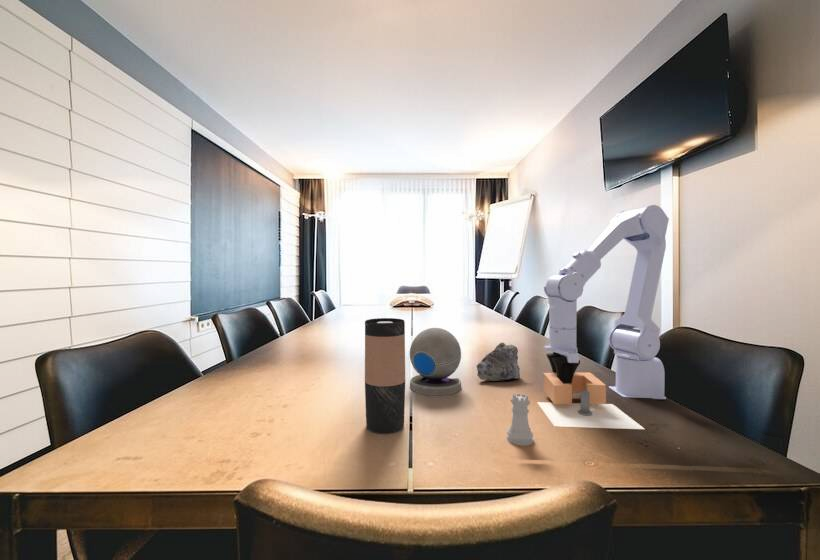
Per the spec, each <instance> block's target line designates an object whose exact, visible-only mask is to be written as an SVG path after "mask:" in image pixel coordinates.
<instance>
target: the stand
mask: <svg viewBox="0 0 820 560" xmlns="http://www.w3.org/2000/svg"><path fill="white" fill-rule="evenodd" d="M589 403H590V392H589V391H587V390H581V393H580V402H578V403H577V402H576V403H575V402H572V404H554V403H553V402H550V401H549V402H544V401H541V402H540V401H537V402H536V404H537V405H538V406H539V407H540V409H541V410H542V411H543V413H544V414H545V415H546V417H547V418H548V419H549V421H550V422H551V424H552V425H553V427H555V428H583V429H585V428H587V429H589V428H590V429H591V428H592V429H614V430H615V429H616V430H617V429H618V430H620V429H622V430H625V429H626V430H645V428H644V427H643V426H642V425H640V423H638V422H637V421H635V420H634V419H633V418H632V417H630V416H629V415H628V414H626V413H625V412H623V411H622V410H621V409H620V408H619V407H617V406H616V405H614V403H606V404H589Z"/></svg>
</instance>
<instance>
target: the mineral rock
mask: <svg viewBox="0 0 820 560" xmlns="http://www.w3.org/2000/svg"><path fill="white" fill-rule="evenodd" d="M518 354H519V350H518V347H517V346H516V345H514V344H506V343H504V342H500V343H499V344H497V345H496V347H495V348H494V350H492V351H491V352H489V353H488V354H486V355H485V356H484V357H483V358H482V359H481V361H480V362H479V363H477V364H476V369H477V377H478V379H480V380H483V381H489V382H491V381H493V382H500V381H501V382H502V381H506V380H512V379H514V380H516V379H519V378H521V374H520V369H521V368H520V366H519V361H518V359H519V356H518Z"/></svg>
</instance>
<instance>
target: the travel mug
mask: <svg viewBox="0 0 820 560" xmlns="http://www.w3.org/2000/svg"><path fill="white" fill-rule="evenodd" d="M405 323H406V322H405V320H404V319H403V318H391V317H390V318H389V317H388V318H387V317H384V318H383V317H382V318H379V317H378V318H369V319H366V320H365V321H364V395H365V396H364V397H365V423H366V424H365V425H366V428H367V430H368V431H370V432H372V433H375V434H381V435H382V434H384V435H385V434H386V435H387V434H393V433H396V432H399V431H401V430H402V429H403V428H404V425H405V406H406V405H405V401H406V400H405V399H406V335H405V333H406V329H405V328H406V325H405Z"/></svg>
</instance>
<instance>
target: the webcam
mask: <svg viewBox="0 0 820 560" xmlns="http://www.w3.org/2000/svg"><path fill="white" fill-rule="evenodd" d="M461 359H462V349H461V345H460V343H459V341H458V339H457V337H456V336H455V335H454V334H453V333H451V332H450V331H448V330H447V329H443V328H440V327H430V328H427V329H424V330H422V331H421V332H419V333H418V334H417V335H416V336H415V337H414V338H413V340H412V342H411V345H410V347H409V360H410V363H411V365H412V367H413V369H414V371H416V373H417V375H415V376H413V377H411V379H410V381H409V388H410V389H411V391H414V392H416V393H419V394H423V395H429V396H431V395H432V396H442V395H443V396H444V395H450V394H455V393H457V392H459V391H460V390H461V389H462V381H461V379H460V378H458V377H456V378H455V377H453V378H450V377H451V376H452V375H453V374H454V373H455V372H456V371H457V369H458V367H460V363H461Z"/></svg>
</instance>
